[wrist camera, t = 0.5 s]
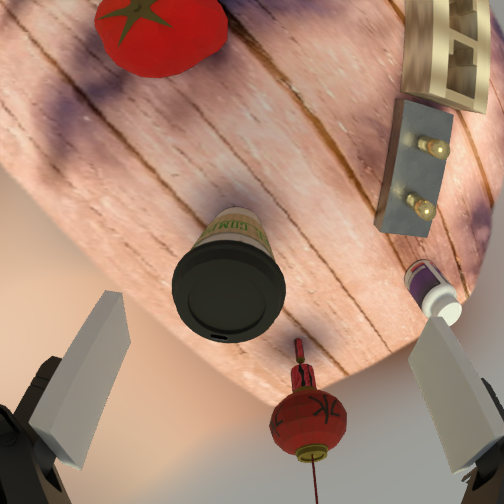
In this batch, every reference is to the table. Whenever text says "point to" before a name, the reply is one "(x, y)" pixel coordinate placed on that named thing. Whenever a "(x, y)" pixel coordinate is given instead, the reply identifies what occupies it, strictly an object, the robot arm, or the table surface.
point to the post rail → (413, 169)
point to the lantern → (307, 417)
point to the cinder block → (447, 52)
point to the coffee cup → (229, 280)
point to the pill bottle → (432, 291)
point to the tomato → (160, 34)
